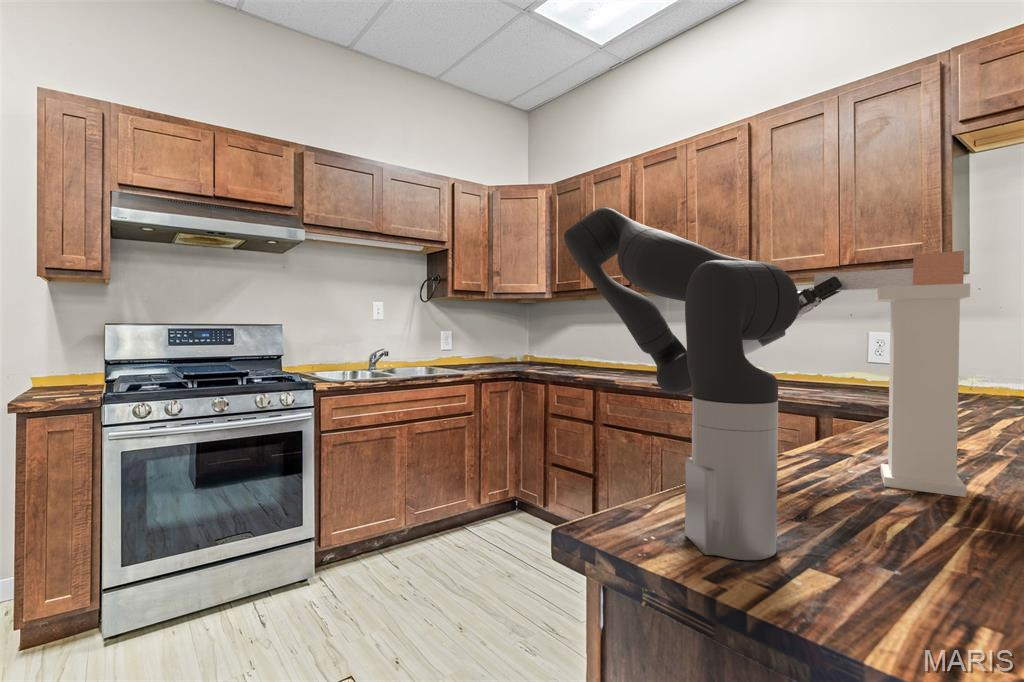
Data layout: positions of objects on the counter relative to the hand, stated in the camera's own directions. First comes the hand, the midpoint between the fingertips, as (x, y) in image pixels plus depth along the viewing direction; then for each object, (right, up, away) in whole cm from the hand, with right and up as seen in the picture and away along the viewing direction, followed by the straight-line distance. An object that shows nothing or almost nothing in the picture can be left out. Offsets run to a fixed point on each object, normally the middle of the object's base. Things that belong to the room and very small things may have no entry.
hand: (839, 283), depth 90 cm
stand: (+9, -33, -5) cm, 35 cm away
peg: (+5, -1, -3) cm, 6 cm away
